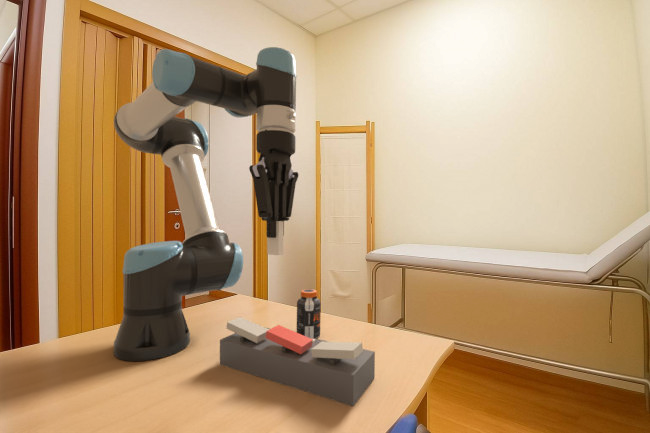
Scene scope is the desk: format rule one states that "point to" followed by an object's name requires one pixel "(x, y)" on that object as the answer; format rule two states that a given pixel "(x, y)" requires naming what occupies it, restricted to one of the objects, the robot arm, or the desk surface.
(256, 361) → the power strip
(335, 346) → the block
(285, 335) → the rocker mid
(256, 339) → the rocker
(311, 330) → the pill bottle
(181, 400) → the desk surface
